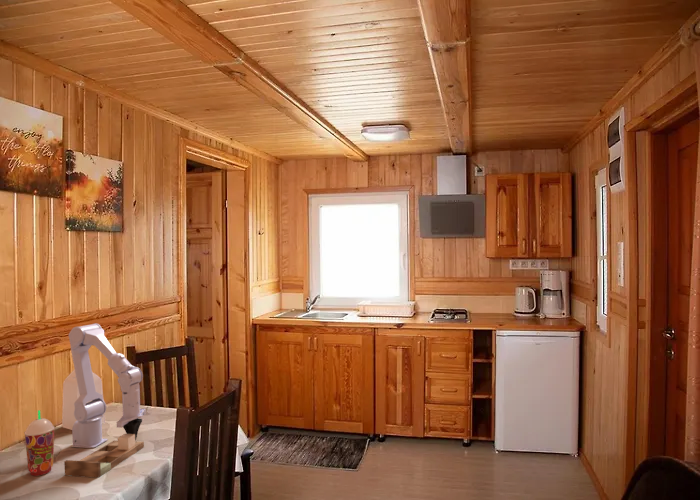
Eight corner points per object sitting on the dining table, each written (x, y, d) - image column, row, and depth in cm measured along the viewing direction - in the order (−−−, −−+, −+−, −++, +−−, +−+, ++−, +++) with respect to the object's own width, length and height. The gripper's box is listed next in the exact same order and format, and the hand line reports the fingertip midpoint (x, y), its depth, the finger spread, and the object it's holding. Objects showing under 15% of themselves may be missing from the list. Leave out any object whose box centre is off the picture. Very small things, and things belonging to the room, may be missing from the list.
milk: (105, 423, 211) (103, 360, 211) (78, 431, 201) (76, 366, 201) (89, 418, 217) (87, 358, 217) (62, 427, 208) (60, 363, 208)
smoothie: (33, 480, 158) (32, 416, 158) (20, 474, 162) (18, 412, 162) (61, 469, 165) (59, 408, 165) (47, 464, 169) (45, 405, 169)
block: (118, 449, 176) (117, 437, 176) (125, 444, 180) (124, 433, 180) (128, 449, 175) (128, 438, 175) (135, 445, 179) (135, 434, 179)
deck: (64, 475, 160) (64, 461, 160) (114, 446, 184) (113, 433, 184) (98, 477, 158) (98, 463, 158) (143, 447, 182) (143, 434, 182)
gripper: (129, 409, 173) (130, 449, 173) (152, 397, 187) (154, 433, 187) (110, 409, 174) (111, 448, 174) (135, 396, 188) (136, 433, 188)
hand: (132, 440), depth 181 cm, fingers closed
